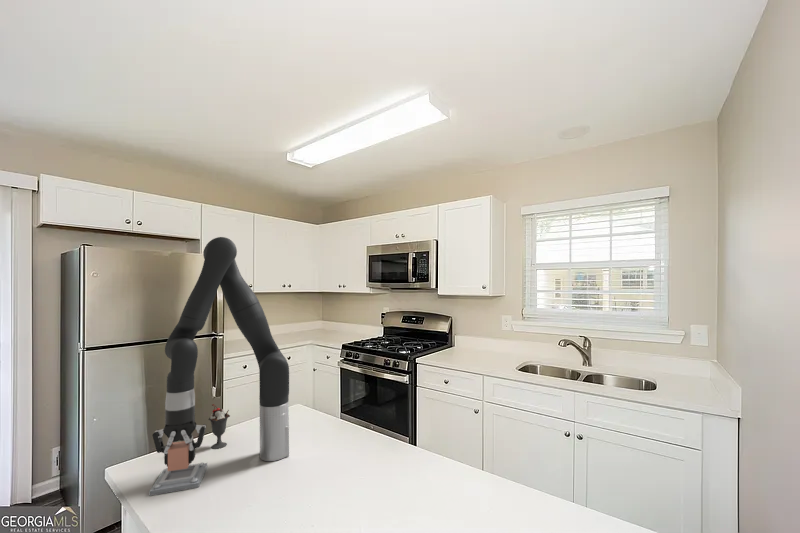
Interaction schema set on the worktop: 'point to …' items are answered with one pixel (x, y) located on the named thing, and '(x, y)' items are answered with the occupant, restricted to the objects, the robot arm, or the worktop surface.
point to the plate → (179, 479)
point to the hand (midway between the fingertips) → (179, 463)
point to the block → (178, 456)
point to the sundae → (218, 426)
